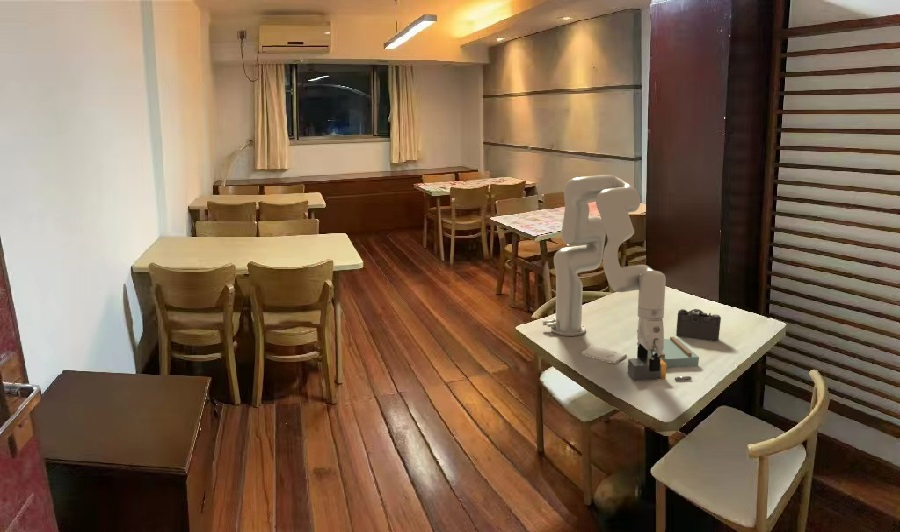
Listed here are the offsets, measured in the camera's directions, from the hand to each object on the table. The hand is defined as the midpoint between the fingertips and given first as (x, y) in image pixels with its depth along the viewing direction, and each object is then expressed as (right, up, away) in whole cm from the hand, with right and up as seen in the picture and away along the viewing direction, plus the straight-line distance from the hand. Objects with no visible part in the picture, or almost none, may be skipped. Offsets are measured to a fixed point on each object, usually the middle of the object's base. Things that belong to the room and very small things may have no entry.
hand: (648, 364), depth 196 cm
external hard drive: (-9, 0, +18) cm, 20 cm away
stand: (+11, 0, +15) cm, 18 cm away
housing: (0, -4, +2) cm, 4 cm away
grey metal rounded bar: (+10, -5, -2) cm, 11 cm away
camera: (+28, +5, +33) cm, 44 cm away
